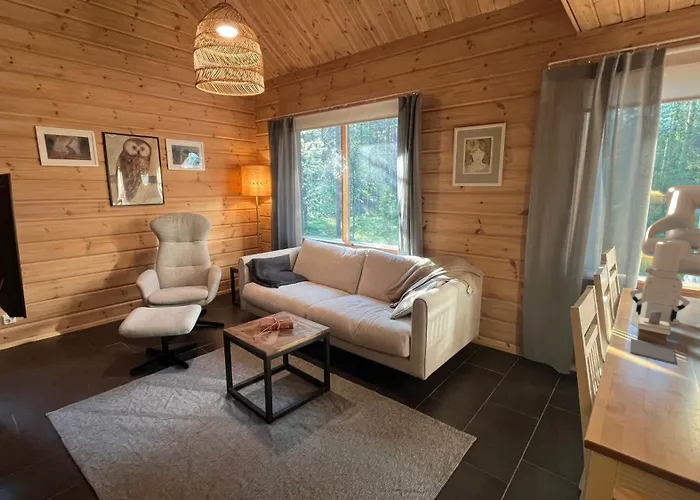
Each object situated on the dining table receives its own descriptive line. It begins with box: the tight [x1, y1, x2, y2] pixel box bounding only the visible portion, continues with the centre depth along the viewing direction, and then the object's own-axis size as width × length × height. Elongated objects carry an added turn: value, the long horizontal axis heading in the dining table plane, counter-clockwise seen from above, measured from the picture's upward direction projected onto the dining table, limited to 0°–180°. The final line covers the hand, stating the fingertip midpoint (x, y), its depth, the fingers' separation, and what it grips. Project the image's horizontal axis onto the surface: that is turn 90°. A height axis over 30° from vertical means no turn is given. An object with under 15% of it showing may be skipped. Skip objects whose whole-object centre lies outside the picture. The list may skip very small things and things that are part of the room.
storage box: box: [637, 328, 668, 346], centre depth 139 cm, size 8×8×6 cm
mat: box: [629, 338, 676, 365], centre depth 130 cm, size 14×12×1 cm
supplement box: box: [630, 293, 671, 328], centre depth 150 cm, size 9×9×15 cm
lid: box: [636, 310, 672, 336], centre depth 138 cm, size 9×9×6 cm
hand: (654, 317), depth 138 cm, fingers open, 9 cm apart
